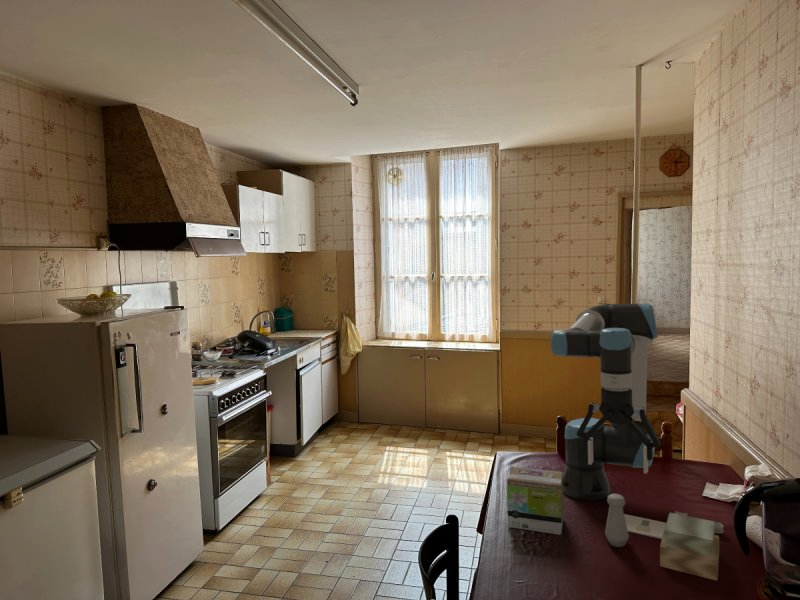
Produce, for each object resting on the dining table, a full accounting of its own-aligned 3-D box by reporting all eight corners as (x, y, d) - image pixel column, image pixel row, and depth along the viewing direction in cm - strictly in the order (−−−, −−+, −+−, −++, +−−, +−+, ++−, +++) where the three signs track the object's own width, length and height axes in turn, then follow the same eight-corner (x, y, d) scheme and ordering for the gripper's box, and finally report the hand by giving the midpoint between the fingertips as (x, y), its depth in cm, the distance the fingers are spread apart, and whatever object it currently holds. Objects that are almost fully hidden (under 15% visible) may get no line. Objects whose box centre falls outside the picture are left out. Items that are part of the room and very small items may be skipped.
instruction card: (618, 529, 145) (618, 527, 145) (624, 515, 152) (624, 513, 152) (666, 540, 138) (666, 538, 138) (670, 525, 146) (670, 523, 146)
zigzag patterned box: (660, 566, 127) (659, 530, 126) (665, 542, 137) (665, 510, 136) (717, 580, 120) (717, 543, 120) (719, 555, 130) (718, 520, 130)
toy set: (673, 526, 146) (672, 514, 146) (675, 522, 148) (675, 509, 148) (722, 538, 138) (722, 525, 138) (724, 533, 141) (724, 520, 140)
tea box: (507, 529, 148) (505, 478, 147) (512, 512, 157) (510, 465, 156) (562, 536, 143) (561, 484, 142) (564, 518, 152) (562, 469, 151)
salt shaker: (629, 539, 139) (628, 492, 139) (628, 550, 134) (628, 502, 133) (606, 535, 142) (605, 489, 141) (604, 546, 137) (603, 498, 136)
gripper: (563, 386, 139) (565, 464, 140) (668, 395, 125) (669, 481, 127) (571, 380, 145) (572, 454, 146) (671, 388, 132) (672, 470, 133)
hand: (617, 467), depth 137 cm, fingers open, 13 cm apart
